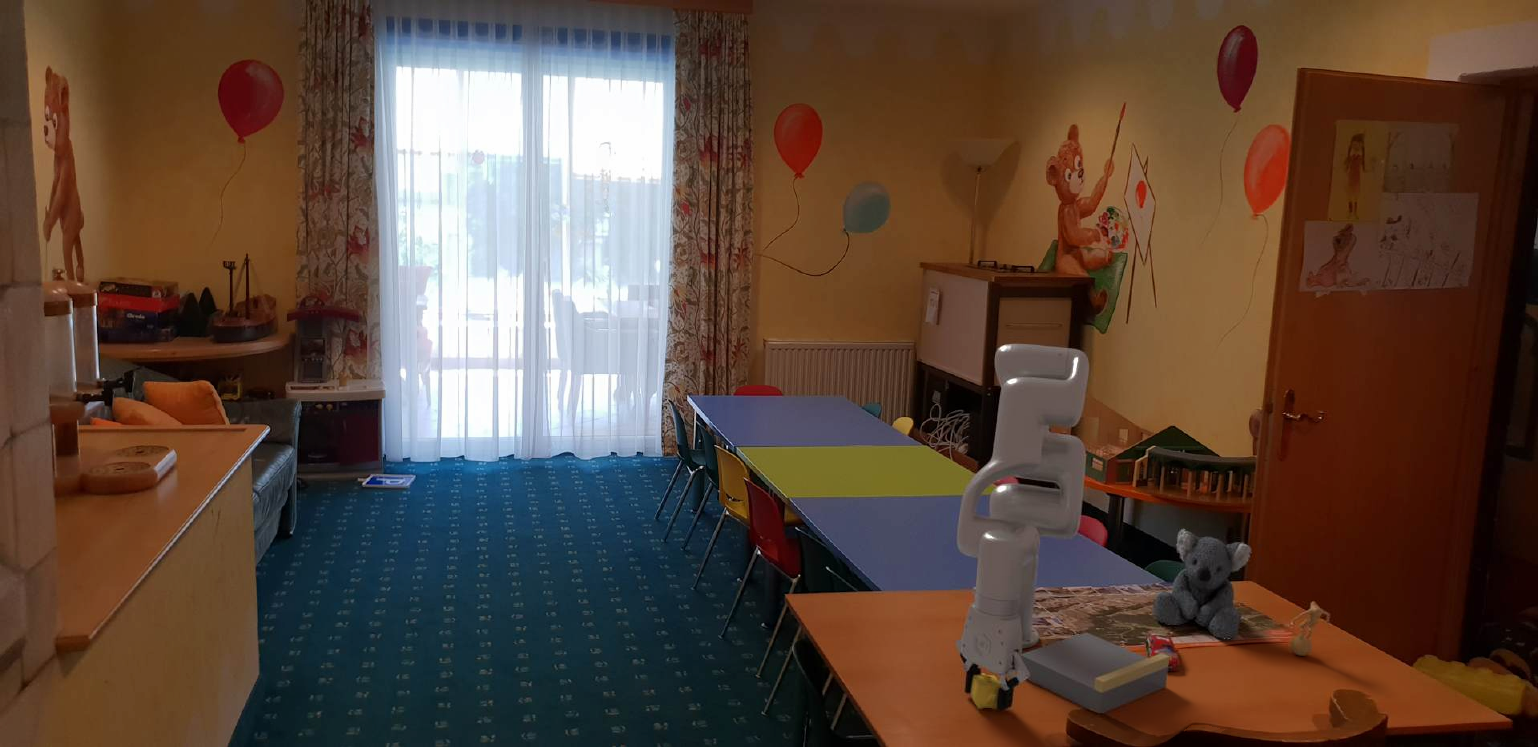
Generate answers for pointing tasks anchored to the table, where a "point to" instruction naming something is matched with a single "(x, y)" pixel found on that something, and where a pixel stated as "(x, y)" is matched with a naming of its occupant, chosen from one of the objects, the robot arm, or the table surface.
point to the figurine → (1302, 643)
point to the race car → (1163, 649)
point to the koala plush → (1204, 585)
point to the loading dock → (1095, 672)
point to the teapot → (985, 691)
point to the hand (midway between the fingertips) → (988, 698)
